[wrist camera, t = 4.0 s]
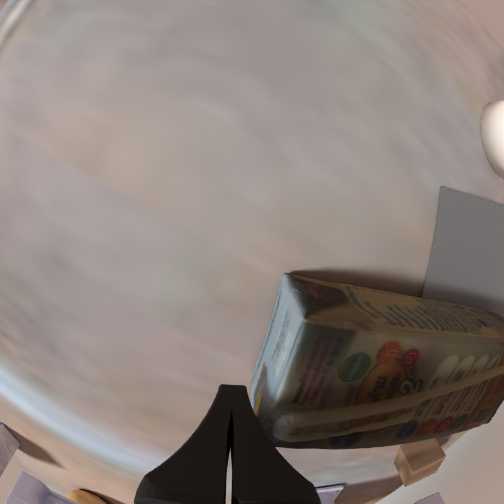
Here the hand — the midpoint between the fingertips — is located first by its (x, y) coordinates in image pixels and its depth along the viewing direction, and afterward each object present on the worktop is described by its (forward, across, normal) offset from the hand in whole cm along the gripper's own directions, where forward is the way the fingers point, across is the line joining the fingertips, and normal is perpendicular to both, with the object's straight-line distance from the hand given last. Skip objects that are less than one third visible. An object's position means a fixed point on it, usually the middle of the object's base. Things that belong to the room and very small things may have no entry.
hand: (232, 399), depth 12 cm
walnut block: (+4, -20, +15) cm, 25 cm away
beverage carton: (+4, -11, 0) cm, 12 cm away
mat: (+4, -19, 0) cm, 19 cm away
